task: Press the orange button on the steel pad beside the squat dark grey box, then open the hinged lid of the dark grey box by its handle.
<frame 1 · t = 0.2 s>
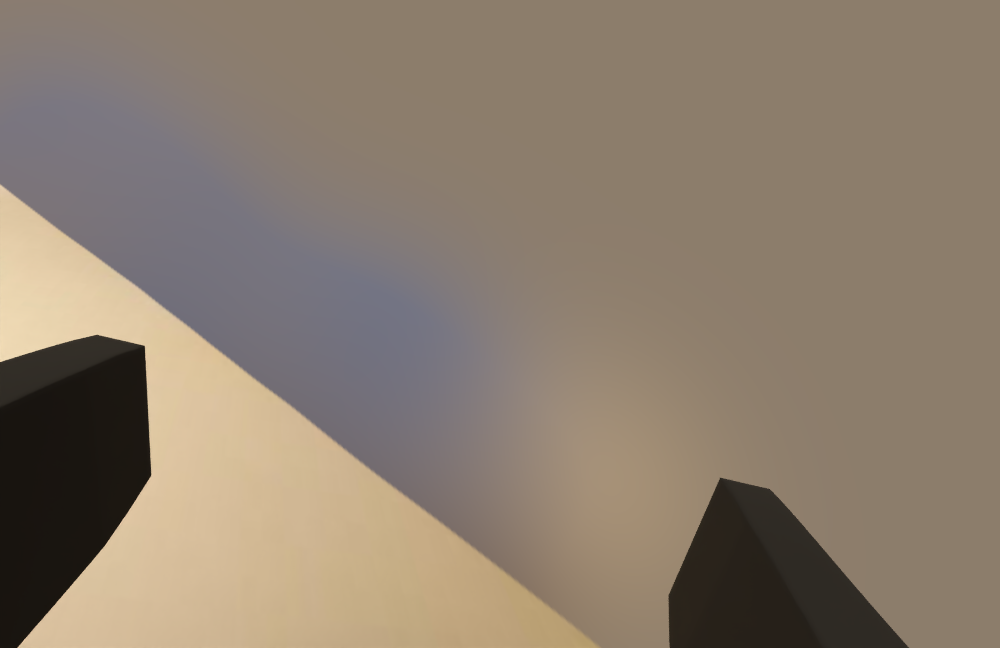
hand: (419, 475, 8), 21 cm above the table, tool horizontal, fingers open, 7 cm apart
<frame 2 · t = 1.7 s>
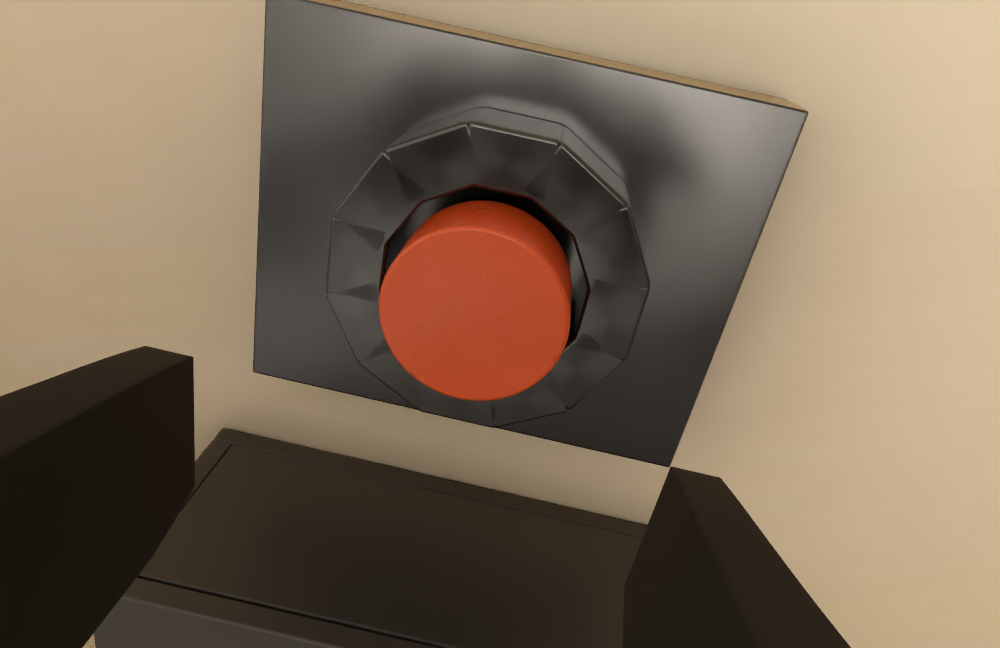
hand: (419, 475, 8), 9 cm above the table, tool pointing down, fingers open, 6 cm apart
button pad: (501, 235, 17), on the table
dark grey box: (424, 606, 23), on the table
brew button: (479, 300, 13), point 4 cm above the table, slide at 0.1 cm
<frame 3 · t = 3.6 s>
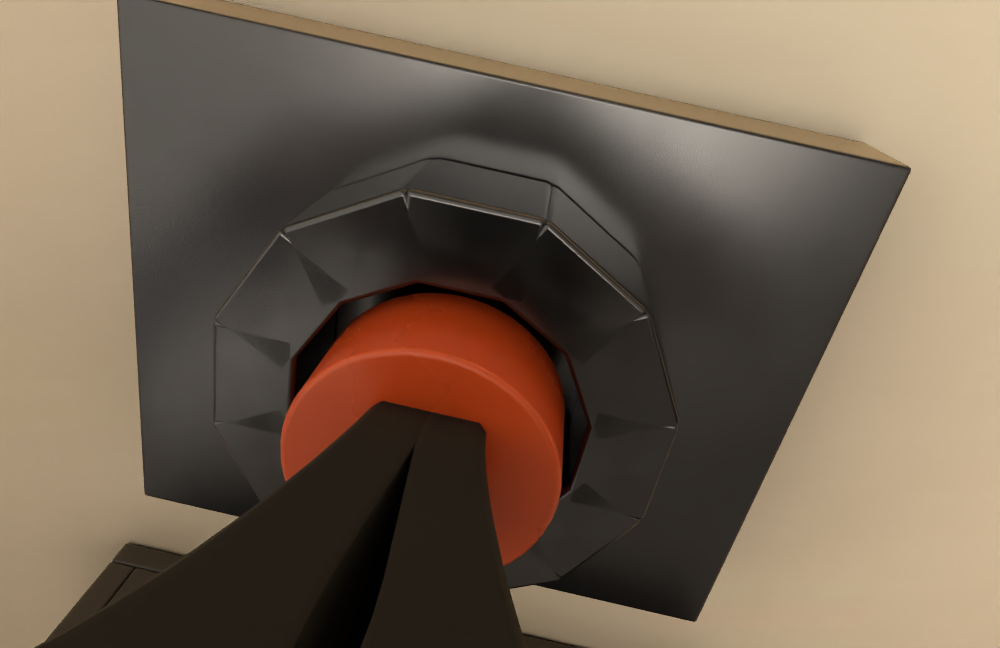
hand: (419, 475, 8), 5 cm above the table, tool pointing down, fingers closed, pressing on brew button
button pad: (471, 318, 13), on the table
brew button: (431, 436, 9), point 4 cm above the table, slide at -0.1 cm, touching gripper
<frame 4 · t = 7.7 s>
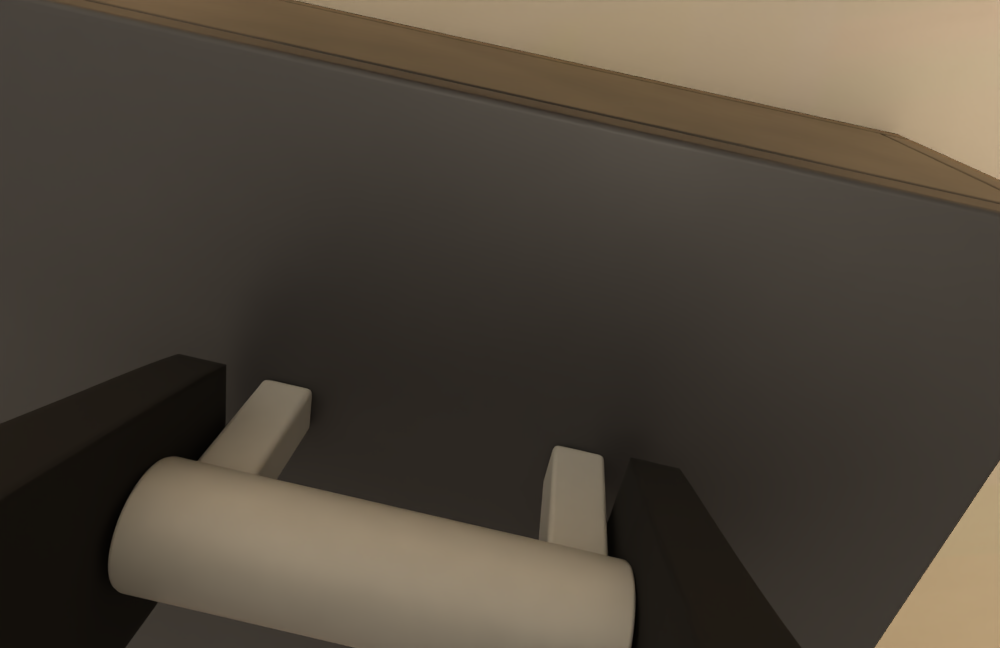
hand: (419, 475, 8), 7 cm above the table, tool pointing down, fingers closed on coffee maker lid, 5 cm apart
dark grey box: (478, 313, 15), on the table
coffee maker lid: (393, 586, 9), point 8 cm above the table, hinge at 0.0°, touching gripper
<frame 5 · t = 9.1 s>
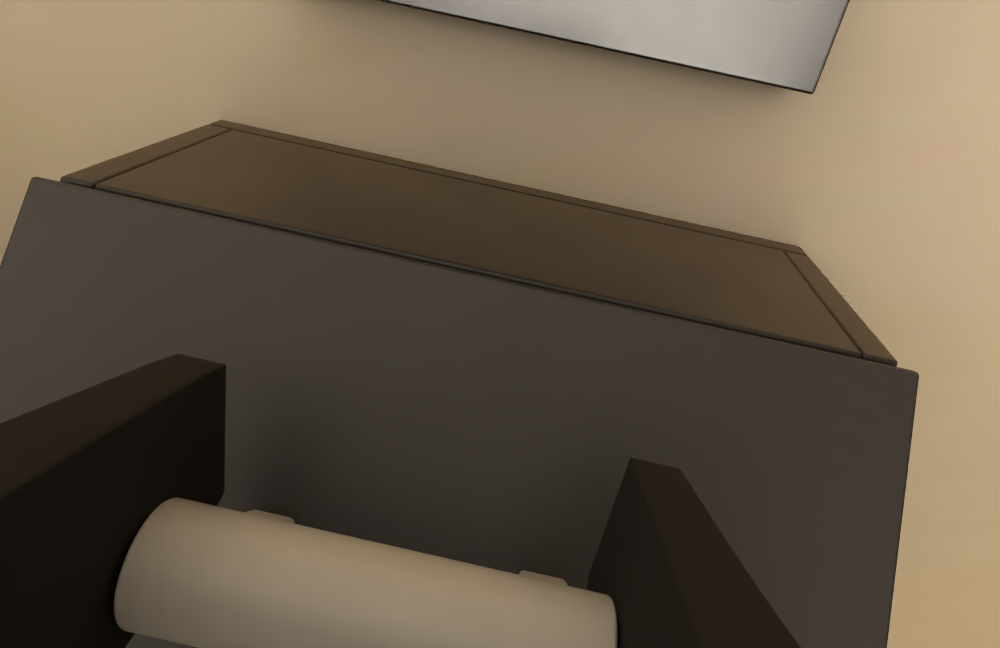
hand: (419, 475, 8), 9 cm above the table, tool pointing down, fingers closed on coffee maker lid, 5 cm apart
dark grey box: (469, 379, 19), on the table
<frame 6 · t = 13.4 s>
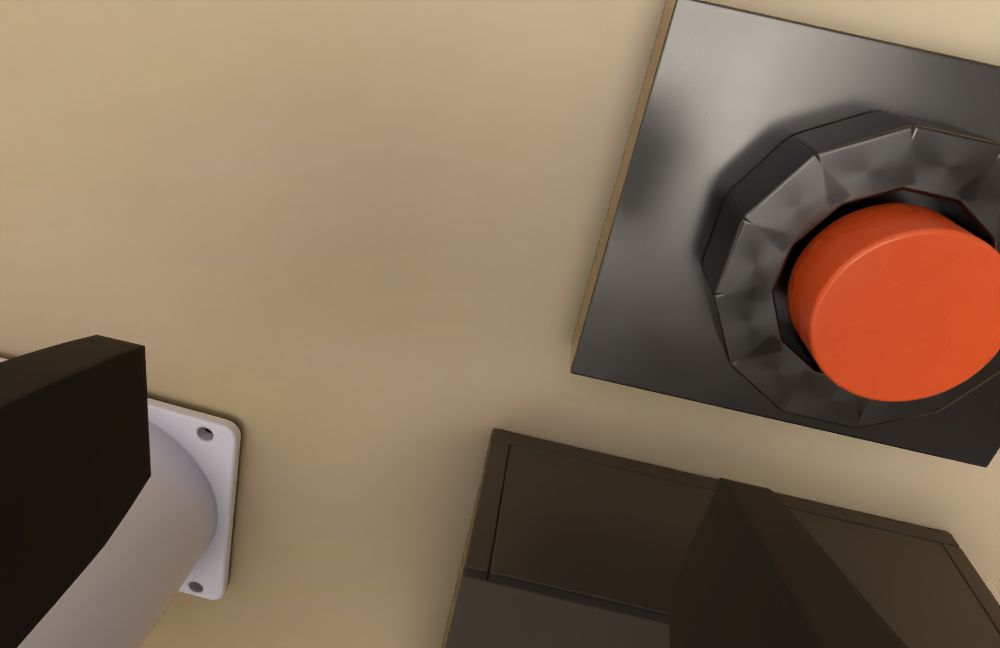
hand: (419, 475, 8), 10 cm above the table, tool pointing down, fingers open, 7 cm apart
button pad: (827, 237, 17), on the table
dark grey box: (665, 606, 23), on the table
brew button: (892, 302, 13), point 4 cm above the table, slide at 0.1 cm
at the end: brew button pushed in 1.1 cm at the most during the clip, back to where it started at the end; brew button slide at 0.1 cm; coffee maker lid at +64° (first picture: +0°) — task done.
